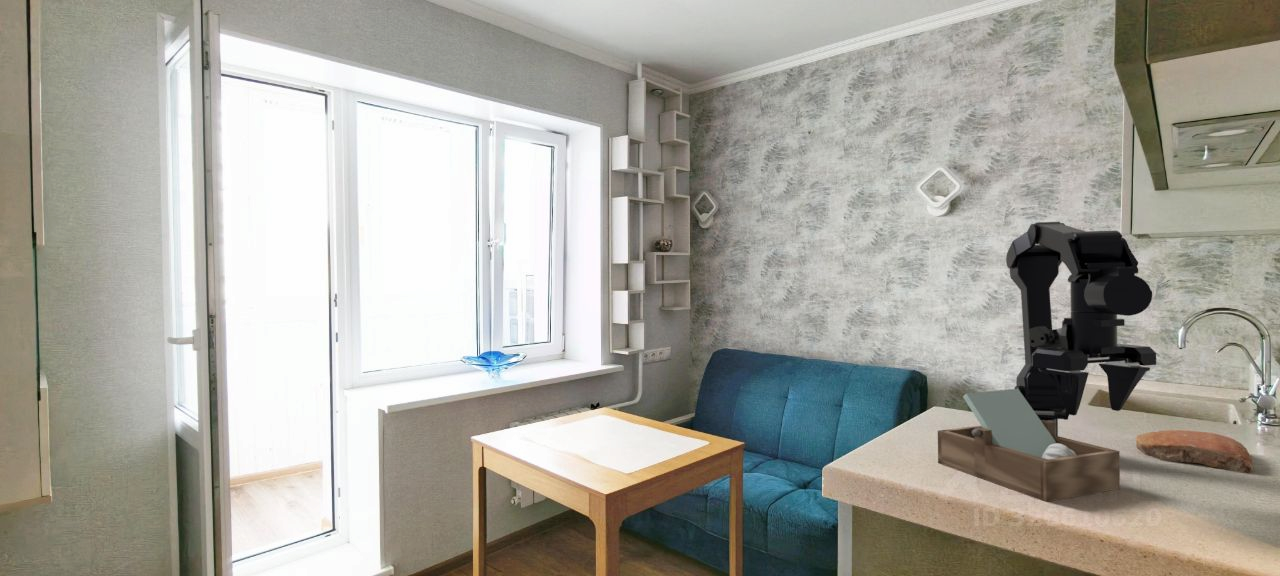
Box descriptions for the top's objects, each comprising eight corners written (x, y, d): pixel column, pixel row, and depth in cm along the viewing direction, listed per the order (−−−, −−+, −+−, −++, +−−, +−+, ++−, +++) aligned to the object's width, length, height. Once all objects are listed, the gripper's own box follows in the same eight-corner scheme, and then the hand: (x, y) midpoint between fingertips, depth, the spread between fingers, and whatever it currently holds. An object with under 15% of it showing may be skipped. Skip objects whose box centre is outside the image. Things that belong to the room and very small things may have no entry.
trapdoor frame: (1008, 453, 111) (1007, 410, 111) (1124, 487, 92) (1123, 435, 92) (933, 463, 106) (933, 418, 105) (1041, 502, 87) (1040, 447, 86)
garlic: (1030, 448, 94) (1064, 457, 89) (1053, 435, 96) (1087, 443, 91) (1038, 483, 95) (1072, 493, 90) (1061, 469, 97) (1095, 479, 92)
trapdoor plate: (1014, 391, 107) (1018, 388, 106) (1065, 464, 98) (1070, 461, 97) (962, 396, 103) (966, 393, 102) (1011, 472, 94) (1015, 470, 93)
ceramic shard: (1136, 416, 118) (1241, 438, 109) (1130, 447, 118) (1235, 472, 109) (1141, 420, 107) (1258, 445, 97) (1134, 455, 107) (1252, 484, 97)
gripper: (1085, 308, 102) (1086, 398, 102) (1000, 311, 96) (1001, 406, 97) (1158, 311, 91) (1159, 412, 91) (1067, 314, 86) (1068, 421, 86)
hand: (1094, 412), depth 92 cm, fingers open, 9 cm apart
